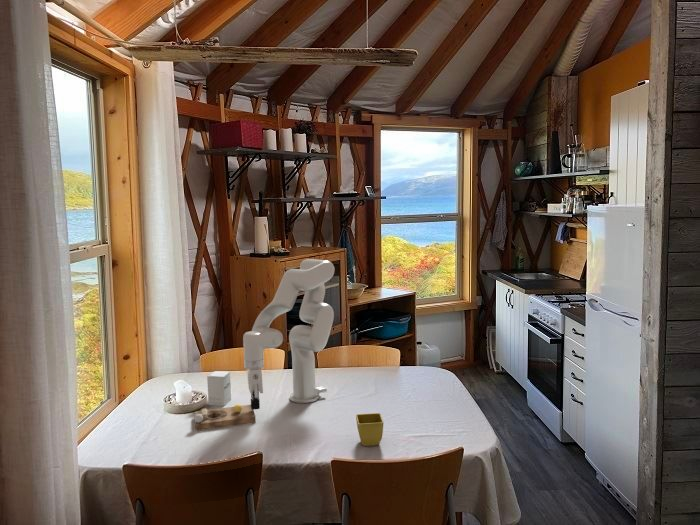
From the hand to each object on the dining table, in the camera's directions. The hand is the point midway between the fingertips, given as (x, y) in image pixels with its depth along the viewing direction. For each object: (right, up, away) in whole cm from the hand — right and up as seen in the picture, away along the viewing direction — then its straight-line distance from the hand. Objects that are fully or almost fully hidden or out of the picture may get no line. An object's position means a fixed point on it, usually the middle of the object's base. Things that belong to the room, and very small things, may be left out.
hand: (255, 408), depth 213 cm
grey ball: (-19, -1, -11) cm, 22 cm away
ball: (-7, +1, -2) cm, 7 cm away
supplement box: (-18, -2, +16) cm, 24 cm away
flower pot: (+44, -5, -25) cm, 51 cm away
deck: (-11, -4, -3) cm, 12 cm away
